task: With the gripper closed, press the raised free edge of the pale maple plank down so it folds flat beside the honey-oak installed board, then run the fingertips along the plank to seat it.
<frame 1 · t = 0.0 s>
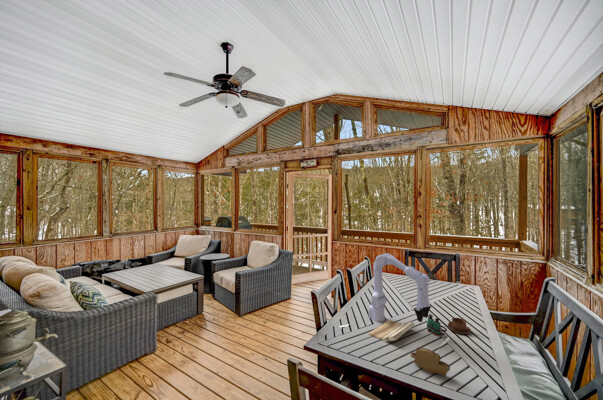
hand: (422, 319, 149), 10 cm above the table, tool pointing down, fingers open, 7 cm apart
brown cowboy hat: (459, 331, 157), on the table
cell phone: (350, 332, 155), on the table
installed board: (385, 331, 154), on the table
maple plank: (399, 331, 149), point 3 cm above the table, hinge at 30.0°
binoculars: (436, 333, 153), on the table
wooden carving: (429, 371, 119), on the table
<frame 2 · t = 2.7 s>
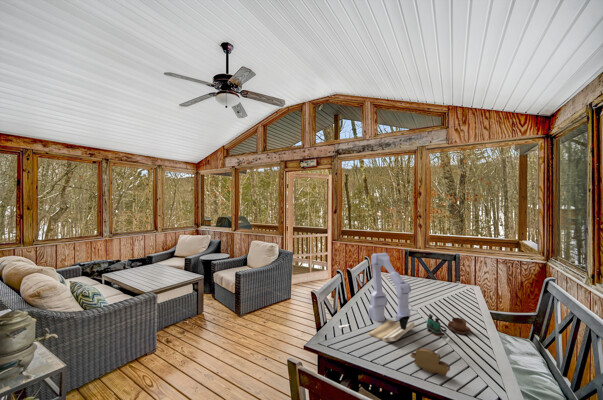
hand: (403, 328, 147), 6 cm above the table, tool pointing down, fingers closed, pressing on maple plank
maple plank: (399, 331, 148), point 3 cm above the table, hinge at 28.1°, touching gripper
everything else where it was.
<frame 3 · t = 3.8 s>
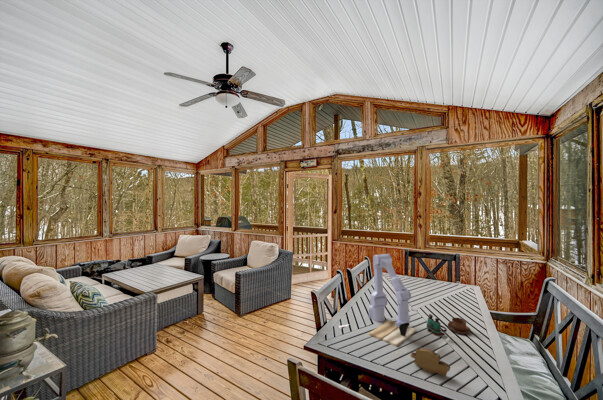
hand: (403, 335, 147), 2 cm above the table, tool pointing down, fingers closed, pressing on maple plank
maple plank: (399, 335, 148), point 1 cm above the table, hinge at 0.2°, touching gripper
everything else where it was.
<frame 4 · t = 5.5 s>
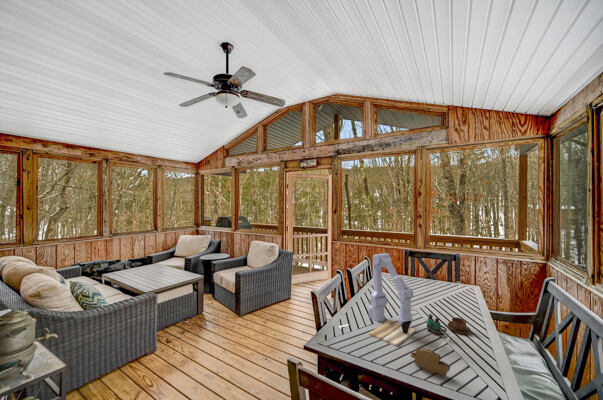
hand: (405, 333, 149), 2 cm above the table, tool pointing down, fingers closed
maple plank: (399, 335, 148), point 1 cm above the table, hinge at 0.2°, touching gripper
everything else where it was.
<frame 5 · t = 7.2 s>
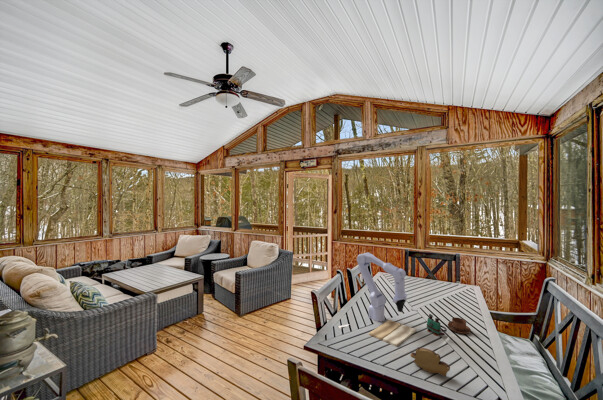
hand: (400, 311, 158), 10 cm above the table, tool pointing down, fingers closed
maple plank: (399, 335, 148), point 1 cm above the table, hinge at 0.2°
everything else where it was.
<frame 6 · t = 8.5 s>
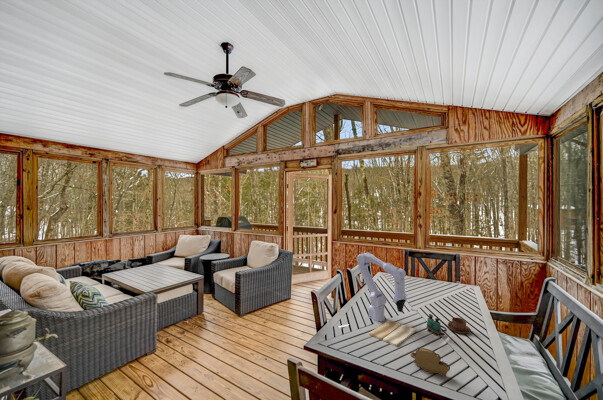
hand: (400, 311, 158), 10 cm above the table, tool pointing down, fingers closed
nothing on the table moved.
at the end: maple plank at +0° (first picture: +30°); binoculars moved 0.3 cm from its start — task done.
